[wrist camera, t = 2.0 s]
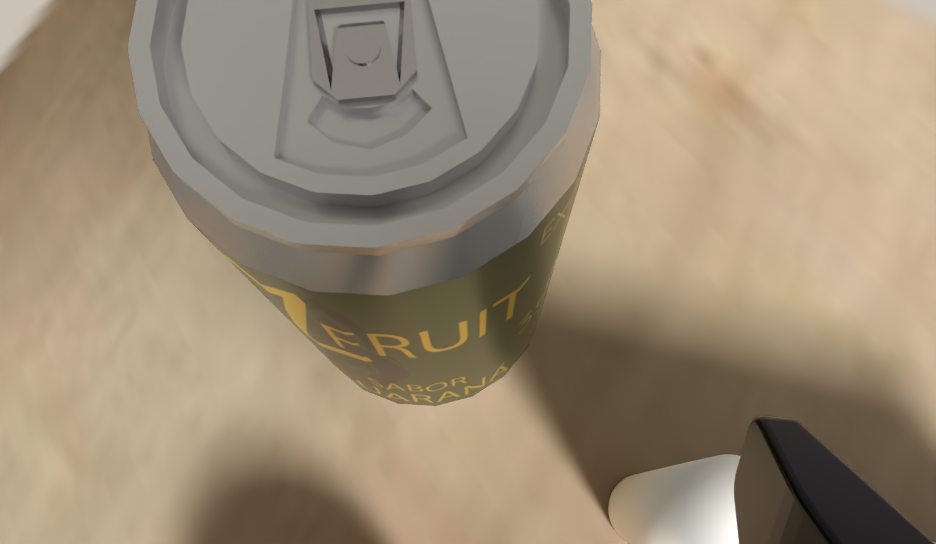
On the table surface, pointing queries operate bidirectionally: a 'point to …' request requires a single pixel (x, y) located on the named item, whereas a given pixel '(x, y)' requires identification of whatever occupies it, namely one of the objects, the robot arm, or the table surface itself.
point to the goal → (678, 504)
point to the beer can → (379, 166)
